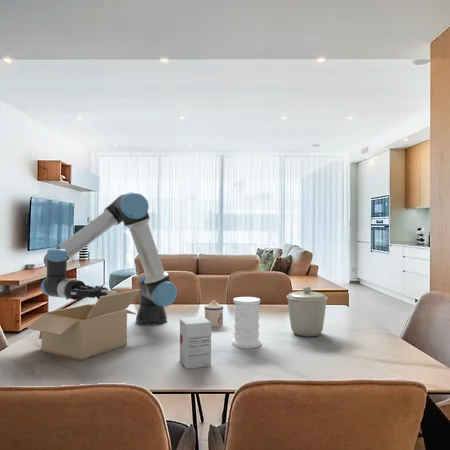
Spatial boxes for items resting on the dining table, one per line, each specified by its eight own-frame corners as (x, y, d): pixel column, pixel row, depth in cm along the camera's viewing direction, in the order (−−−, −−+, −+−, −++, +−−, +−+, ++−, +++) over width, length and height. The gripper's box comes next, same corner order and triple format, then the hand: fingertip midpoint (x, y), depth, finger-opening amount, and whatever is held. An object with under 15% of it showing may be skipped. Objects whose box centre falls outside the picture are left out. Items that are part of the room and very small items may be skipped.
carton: (16, 354, 139) (16, 315, 140) (95, 331, 171) (95, 299, 172) (63, 367, 127) (63, 324, 127) (139, 340, 159) (139, 305, 159)
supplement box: (178, 360, 134) (179, 318, 135) (203, 357, 138) (203, 316, 138) (186, 369, 126) (186, 324, 126) (211, 366, 129) (211, 321, 129)
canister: (296, 326, 183) (296, 282, 183) (333, 332, 172) (333, 285, 172) (279, 334, 168) (279, 286, 168) (318, 342, 158) (318, 290, 158)
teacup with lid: (221, 327, 179) (221, 302, 179) (202, 327, 180) (202, 302, 181) (225, 321, 191) (225, 298, 191) (207, 321, 192) (207, 297, 192)
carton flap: (86, 317, 134) (100, 296, 131) (126, 307, 151) (139, 288, 148) (87, 318, 134) (101, 297, 130) (127, 308, 151) (140, 289, 148)
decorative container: (256, 349, 147) (256, 302, 148) (228, 346, 151) (228, 300, 152) (264, 341, 158) (264, 297, 158) (237, 338, 162) (237, 295, 162)
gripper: (85, 296, 157) (127, 302, 145) (57, 301, 146) (100, 308, 134) (85, 278, 157) (128, 282, 145) (57, 281, 146) (101, 287, 134)
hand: (115, 295), depth 140 cm, fingers closed
